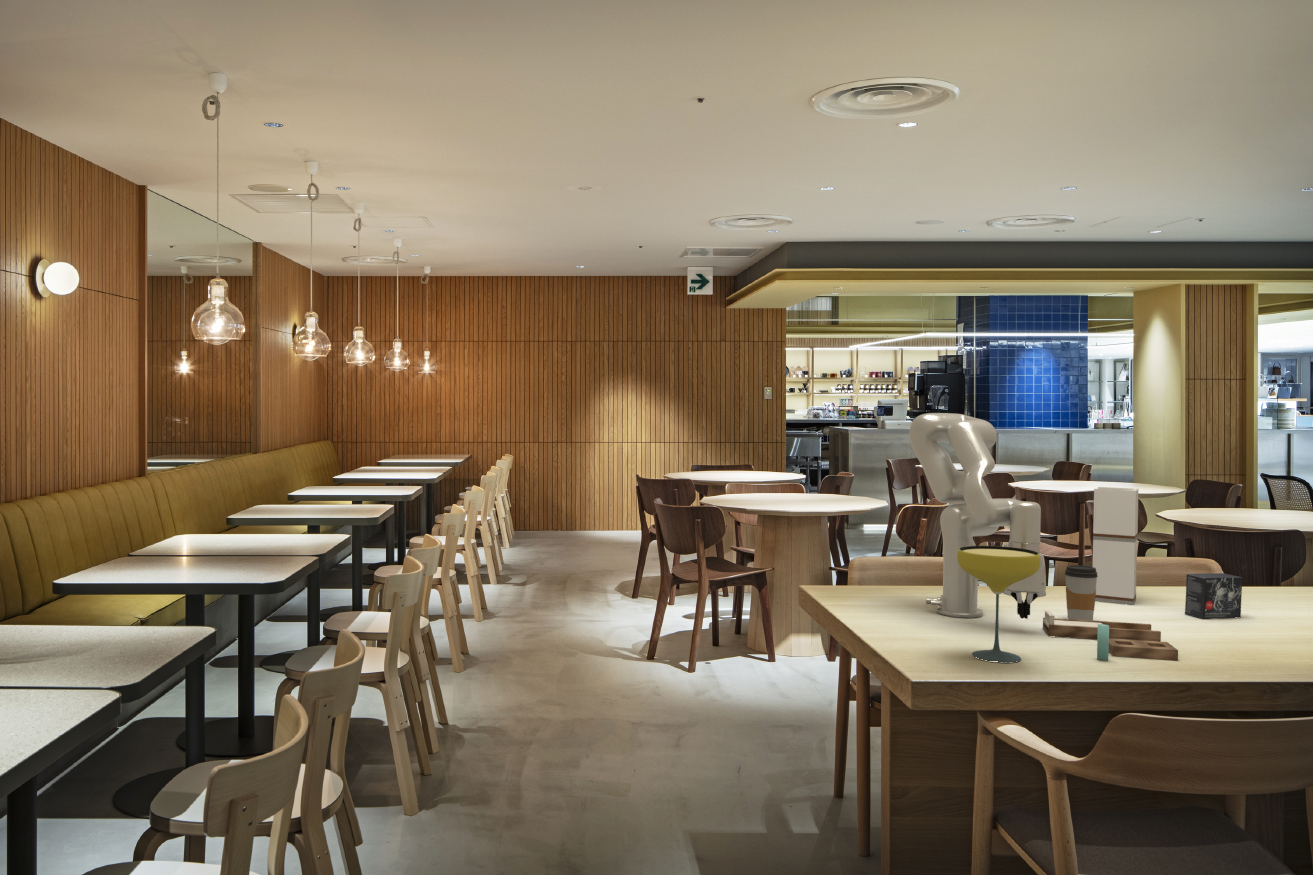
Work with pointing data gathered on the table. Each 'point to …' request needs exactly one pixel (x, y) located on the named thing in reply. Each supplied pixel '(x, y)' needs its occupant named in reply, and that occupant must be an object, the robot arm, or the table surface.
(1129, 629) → the board
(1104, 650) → the pin
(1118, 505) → the mini fridge
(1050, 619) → the lid
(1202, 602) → the small box
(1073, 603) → the coffee cup
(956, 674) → the table surface
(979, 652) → the cocktail glass
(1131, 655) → the pin board
